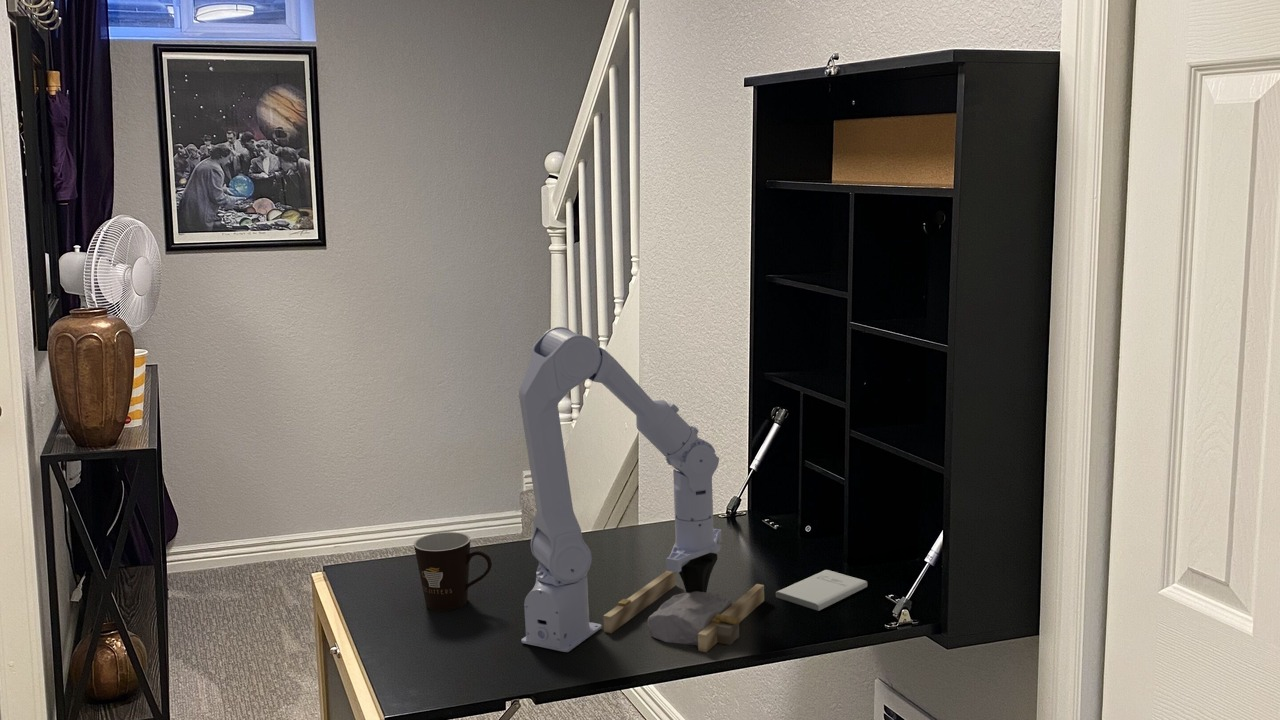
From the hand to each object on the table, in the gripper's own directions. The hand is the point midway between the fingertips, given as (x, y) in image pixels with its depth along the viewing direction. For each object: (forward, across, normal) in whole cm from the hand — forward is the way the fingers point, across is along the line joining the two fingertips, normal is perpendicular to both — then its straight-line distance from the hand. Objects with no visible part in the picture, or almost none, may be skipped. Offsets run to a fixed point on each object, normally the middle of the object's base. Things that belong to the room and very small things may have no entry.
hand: (696, 601), depth 176 cm
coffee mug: (+1, -14, +35) cm, 38 cm away
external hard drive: (+2, +13, -15) cm, 20 cm away
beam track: (+1, -4, -1) cm, 4 cm away
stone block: (+1, -7, -2) cm, 7 cm away
